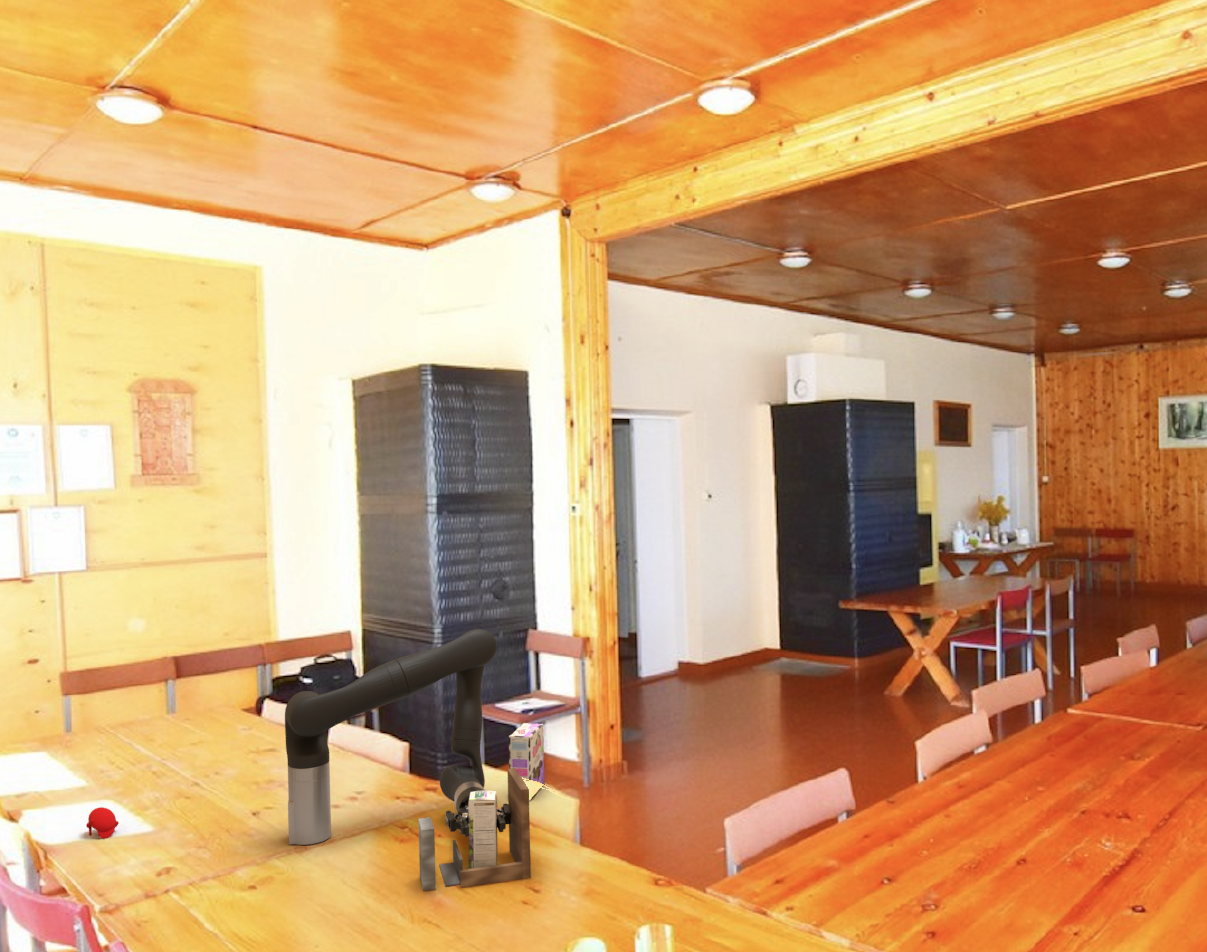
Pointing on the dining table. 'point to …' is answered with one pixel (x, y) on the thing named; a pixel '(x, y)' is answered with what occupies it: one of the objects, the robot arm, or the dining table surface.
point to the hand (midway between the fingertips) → (484, 829)
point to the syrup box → (482, 829)
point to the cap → (102, 822)
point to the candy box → (528, 752)
